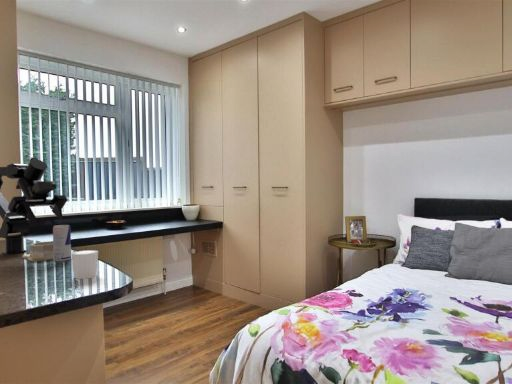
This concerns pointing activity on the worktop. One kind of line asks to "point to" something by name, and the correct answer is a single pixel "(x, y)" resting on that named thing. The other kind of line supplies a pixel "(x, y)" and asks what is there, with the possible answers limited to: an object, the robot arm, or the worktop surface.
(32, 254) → the cup bracket
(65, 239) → the energy drink
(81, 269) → the white cup
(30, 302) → the worktop surface
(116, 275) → the worktop surface
